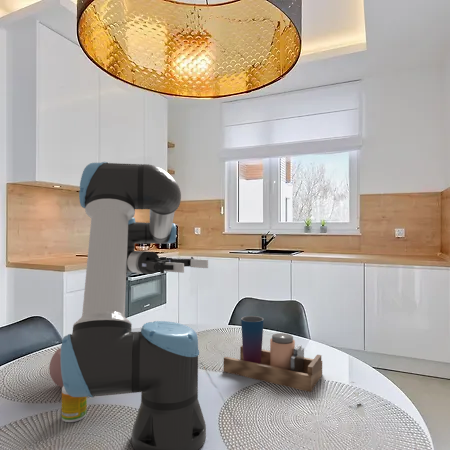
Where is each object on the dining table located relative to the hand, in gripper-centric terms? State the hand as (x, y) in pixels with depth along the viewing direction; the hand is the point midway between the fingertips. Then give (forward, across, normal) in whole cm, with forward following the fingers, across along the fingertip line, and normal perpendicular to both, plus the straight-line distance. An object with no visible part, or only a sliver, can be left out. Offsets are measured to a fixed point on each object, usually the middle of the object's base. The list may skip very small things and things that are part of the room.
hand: (196, 265), depth 112 cm
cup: (+17, -5, -31) cm, 35 cm away
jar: (+27, -5, -30) cm, 41 cm away
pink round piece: (-21, +28, -32) cm, 47 cm away
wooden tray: (+24, -5, -31) cm, 40 cm away
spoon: (+48, -1, -32) cm, 58 cm away
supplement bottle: (-8, +38, -32) cm, 50 cm away
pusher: (+31, -5, -30) cm, 44 cm away
